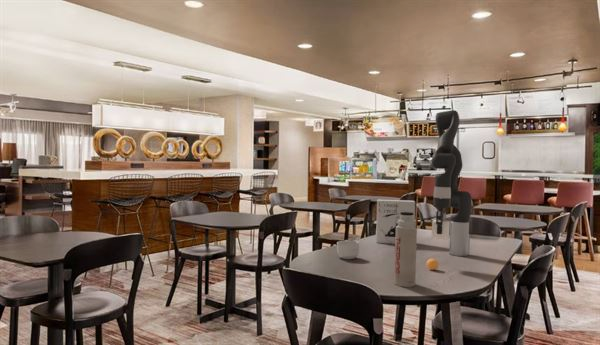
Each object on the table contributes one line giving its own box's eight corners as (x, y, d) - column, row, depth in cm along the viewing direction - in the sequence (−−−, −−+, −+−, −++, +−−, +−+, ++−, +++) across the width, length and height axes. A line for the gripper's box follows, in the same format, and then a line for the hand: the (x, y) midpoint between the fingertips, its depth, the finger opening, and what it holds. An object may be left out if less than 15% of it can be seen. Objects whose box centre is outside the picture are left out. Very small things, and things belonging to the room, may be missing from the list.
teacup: (357, 261, 215) (358, 244, 215) (335, 259, 218) (335, 243, 217) (359, 255, 229) (360, 239, 229) (338, 254, 231) (338, 238, 231)
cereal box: (376, 242, 266) (377, 200, 265) (376, 240, 274) (377, 199, 273) (413, 244, 262) (415, 201, 262) (412, 242, 270) (414, 200, 269)
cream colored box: (449, 237, 210) (449, 221, 210) (447, 239, 204) (447, 222, 204) (433, 236, 213) (434, 219, 213) (431, 238, 207) (432, 221, 207)
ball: (433, 268, 204) (433, 257, 204) (440, 270, 200) (440, 259, 200) (424, 269, 202) (424, 257, 202) (431, 271, 198) (431, 260, 198)
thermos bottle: (397, 286, 172) (399, 213, 171) (391, 281, 180) (393, 210, 179) (418, 286, 173) (420, 213, 172) (411, 281, 181) (413, 211, 180)
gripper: (436, 195, 216) (434, 230, 216) (431, 197, 203) (429, 234, 203) (452, 196, 213) (451, 232, 213) (448, 198, 200) (447, 235, 200)
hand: (440, 232), depth 208 cm, fingers closed on cream colored box, 7 cm apart
